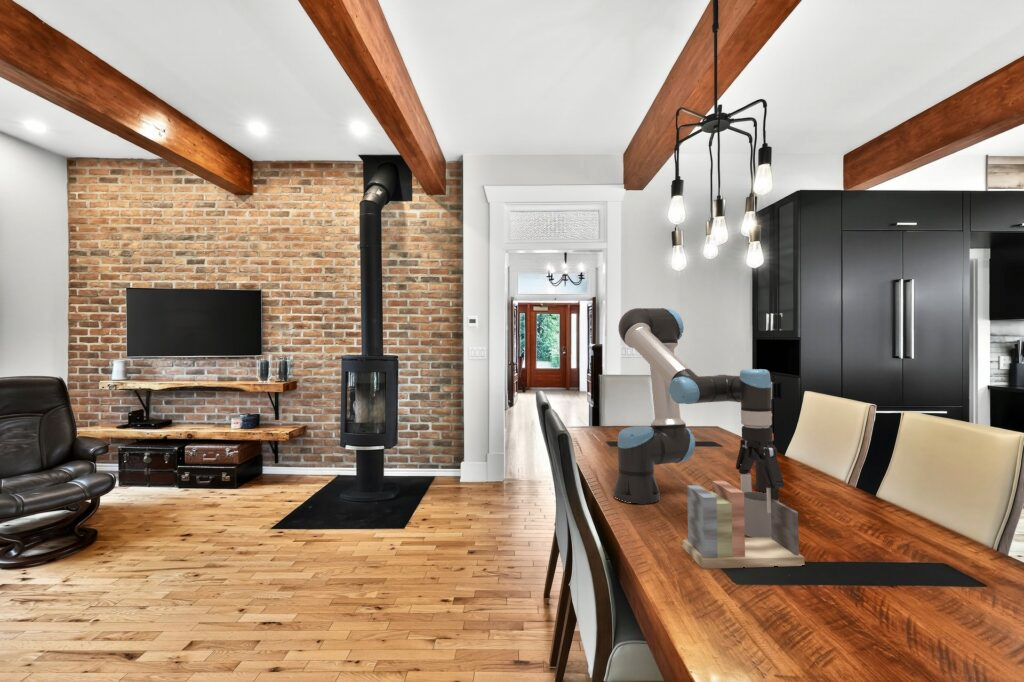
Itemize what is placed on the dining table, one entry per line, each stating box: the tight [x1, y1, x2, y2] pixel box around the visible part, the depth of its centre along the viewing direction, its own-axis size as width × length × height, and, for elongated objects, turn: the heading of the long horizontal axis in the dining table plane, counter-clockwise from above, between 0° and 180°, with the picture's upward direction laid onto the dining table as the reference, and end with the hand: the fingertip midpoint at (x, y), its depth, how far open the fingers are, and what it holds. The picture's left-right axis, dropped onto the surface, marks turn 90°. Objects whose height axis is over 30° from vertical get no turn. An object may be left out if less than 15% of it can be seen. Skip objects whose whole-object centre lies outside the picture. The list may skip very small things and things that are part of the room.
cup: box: [744, 491, 771, 538], centre depth 135 cm, size 8×8×10 cm
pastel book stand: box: [682, 480, 805, 570], centre depth 120 cm, size 12×24×17 cm, turn 92°
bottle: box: [754, 432, 778, 494], centre depth 172 cm, size 7×7×20 cm
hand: (759, 504), depth 134 cm, fingers open, 13 cm apart
